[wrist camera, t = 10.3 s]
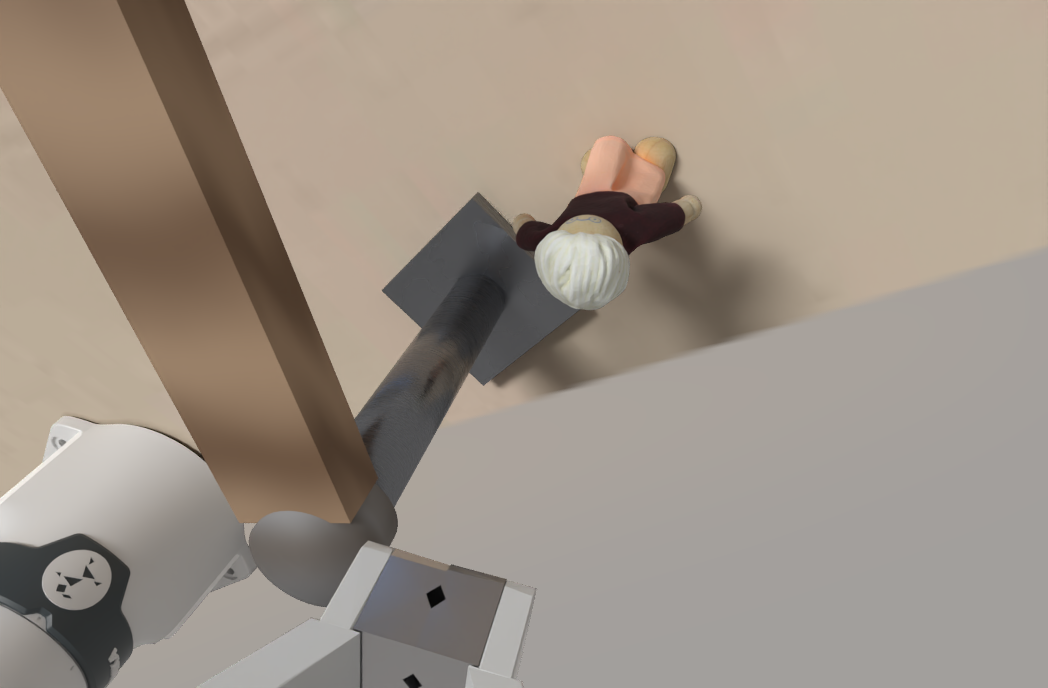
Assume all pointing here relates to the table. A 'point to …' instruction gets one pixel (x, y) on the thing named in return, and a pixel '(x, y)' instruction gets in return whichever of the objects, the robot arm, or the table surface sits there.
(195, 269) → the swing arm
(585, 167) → the grandmother figurine
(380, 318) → the table surface
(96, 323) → the table surface
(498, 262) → the arm post
